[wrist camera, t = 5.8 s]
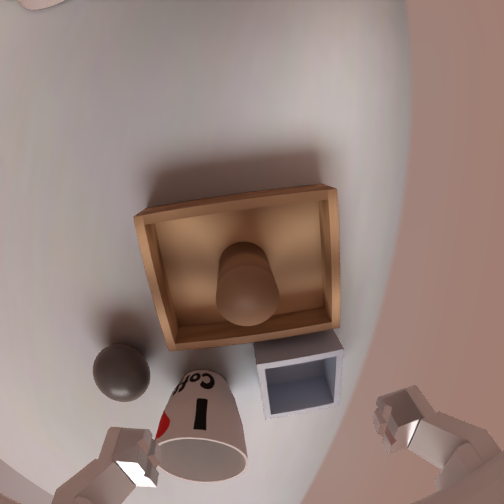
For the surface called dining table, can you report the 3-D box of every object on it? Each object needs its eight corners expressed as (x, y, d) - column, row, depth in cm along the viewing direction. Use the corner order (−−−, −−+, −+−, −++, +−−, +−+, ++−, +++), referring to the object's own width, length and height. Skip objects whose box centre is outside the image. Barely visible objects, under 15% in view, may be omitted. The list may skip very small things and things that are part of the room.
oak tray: (146, 208, 23) (133, 216, 20) (322, 184, 24) (336, 188, 20) (174, 329, 27) (168, 351, 23) (327, 307, 27) (339, 327, 24)
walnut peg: (215, 245, 24) (210, 274, 18) (265, 238, 24) (276, 265, 18) (222, 290, 25) (221, 329, 19) (270, 284, 25) (281, 321, 19)
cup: (218, 347, 28) (216, 427, 18) (255, 397, 30) (264, 471, 21) (152, 373, 28) (131, 446, 19) (193, 418, 31) (187, 487, 21)
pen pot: (252, 330, 27) (256, 364, 23) (326, 318, 28) (343, 348, 23) (260, 385, 30) (265, 419, 25) (326, 373, 30) (339, 405, 25)
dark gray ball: (96, 334, 26) (75, 368, 21) (145, 331, 27) (130, 368, 21) (114, 376, 28) (99, 412, 23) (161, 375, 28) (152, 414, 23)
